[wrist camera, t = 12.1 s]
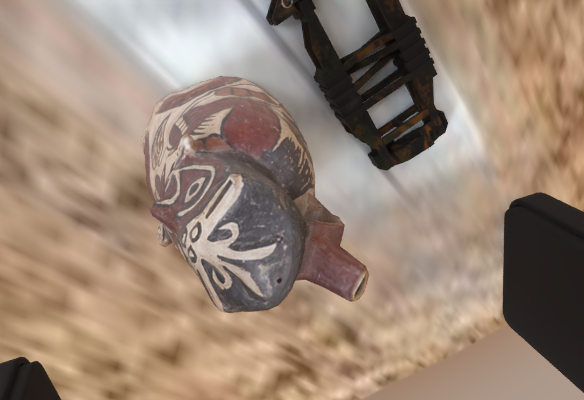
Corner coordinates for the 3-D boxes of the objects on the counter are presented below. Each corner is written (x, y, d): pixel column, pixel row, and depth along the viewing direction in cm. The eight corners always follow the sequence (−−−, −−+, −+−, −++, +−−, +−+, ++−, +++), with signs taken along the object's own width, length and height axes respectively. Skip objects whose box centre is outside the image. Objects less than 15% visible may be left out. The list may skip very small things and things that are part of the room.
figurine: (176, 47, 20) (201, 84, 9) (316, 111, 23) (459, 196, 12) (121, 193, 22) (88, 368, 11) (257, 237, 25) (338, 411, 14)
